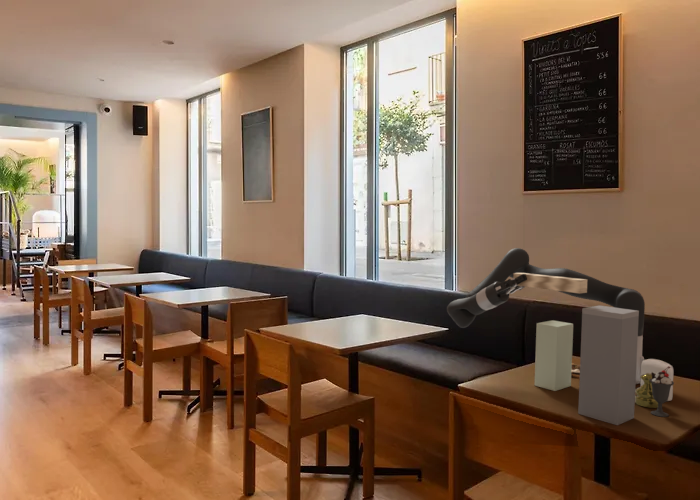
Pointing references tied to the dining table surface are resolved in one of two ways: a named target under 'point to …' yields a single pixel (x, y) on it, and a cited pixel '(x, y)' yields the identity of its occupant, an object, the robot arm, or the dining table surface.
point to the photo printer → (657, 370)
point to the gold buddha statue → (645, 393)
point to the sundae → (661, 390)
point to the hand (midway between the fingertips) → (529, 276)
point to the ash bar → (554, 283)
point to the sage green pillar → (553, 355)
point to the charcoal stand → (608, 363)
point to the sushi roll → (575, 371)
